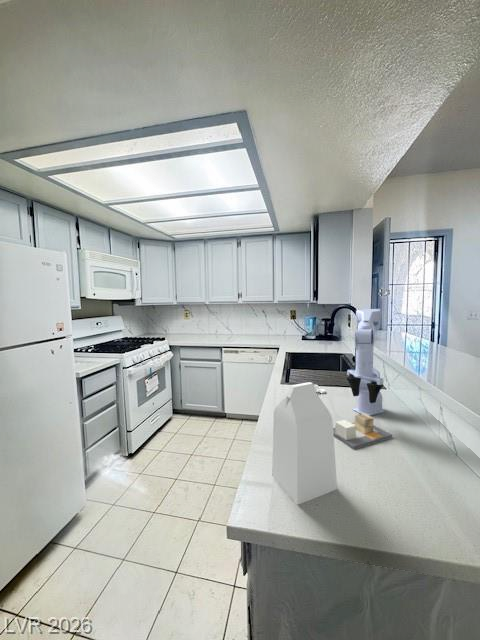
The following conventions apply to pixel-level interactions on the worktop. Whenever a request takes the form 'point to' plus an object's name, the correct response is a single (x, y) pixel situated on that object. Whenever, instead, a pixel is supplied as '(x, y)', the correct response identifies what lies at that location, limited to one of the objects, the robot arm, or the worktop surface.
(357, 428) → the block
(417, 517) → the worktop surface
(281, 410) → the milk
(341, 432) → the cream white cube
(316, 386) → the teacup and saucer
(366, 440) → the breaker panel
